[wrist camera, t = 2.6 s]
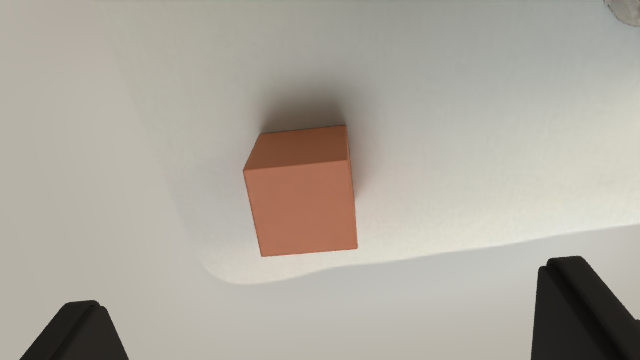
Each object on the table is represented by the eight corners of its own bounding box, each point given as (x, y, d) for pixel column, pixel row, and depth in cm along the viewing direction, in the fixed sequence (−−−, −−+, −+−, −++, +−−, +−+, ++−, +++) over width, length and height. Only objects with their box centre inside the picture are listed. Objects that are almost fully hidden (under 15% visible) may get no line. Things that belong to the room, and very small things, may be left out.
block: (273, 209, 28) (261, 257, 23) (258, 133, 26) (242, 169, 21) (354, 202, 27) (357, 249, 23) (346, 124, 25) (348, 159, 21)
